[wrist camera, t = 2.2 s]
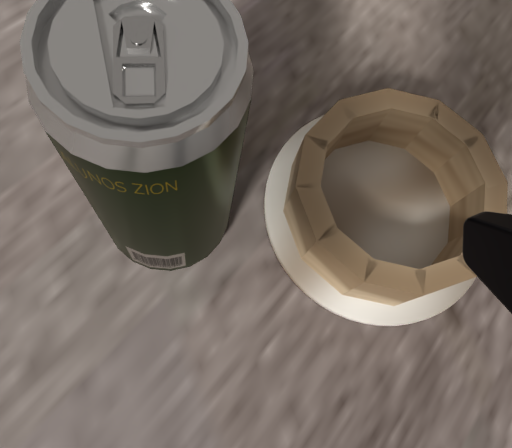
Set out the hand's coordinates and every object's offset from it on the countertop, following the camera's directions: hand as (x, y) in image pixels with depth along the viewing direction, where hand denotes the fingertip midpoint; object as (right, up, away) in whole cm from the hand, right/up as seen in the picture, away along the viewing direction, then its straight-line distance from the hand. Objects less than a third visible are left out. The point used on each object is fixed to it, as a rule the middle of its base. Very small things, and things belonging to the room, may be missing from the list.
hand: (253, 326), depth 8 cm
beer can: (-4, +2, +14) cm, 14 cm away
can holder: (+6, +2, +15) cm, 16 cm away
